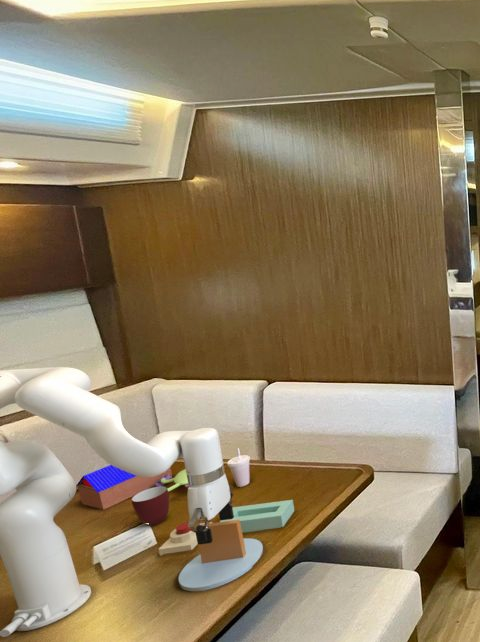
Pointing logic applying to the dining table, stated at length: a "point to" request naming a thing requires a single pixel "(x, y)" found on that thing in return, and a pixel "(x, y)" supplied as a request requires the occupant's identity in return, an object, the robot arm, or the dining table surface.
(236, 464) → the smoothie
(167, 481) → the figurine
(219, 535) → the copper rectangular plank
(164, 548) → the control block
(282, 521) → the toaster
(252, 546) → the plate
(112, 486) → the house
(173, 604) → the dining table surface
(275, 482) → the dining table surface
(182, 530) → the stop button
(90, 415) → the robot arm
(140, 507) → the mug
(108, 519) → the dining table surface
